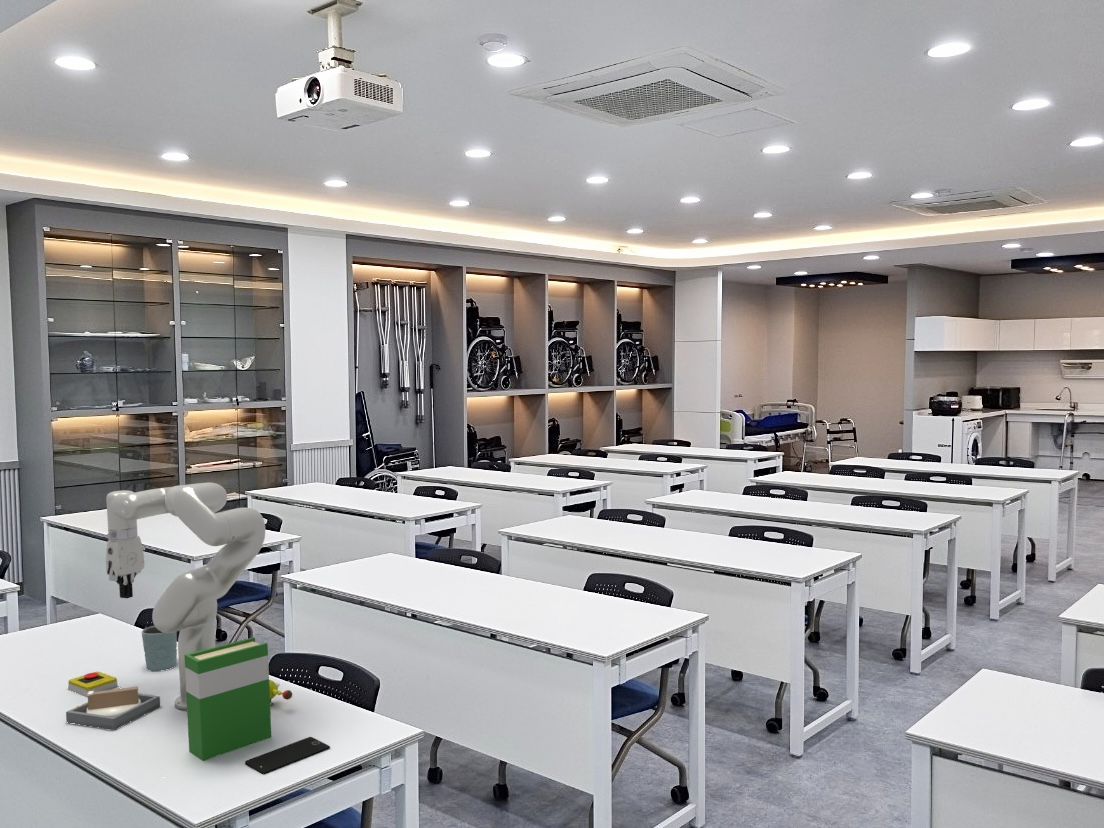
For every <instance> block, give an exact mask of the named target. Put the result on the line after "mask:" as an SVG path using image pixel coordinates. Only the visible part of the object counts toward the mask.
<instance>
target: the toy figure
mask: <svg viewBox="0 0 1104 828" xmlns="http://www.w3.org/2000/svg"><path fill="white" fill-rule="evenodd" d="M280 685H281V684H280V683H279V682H275V681H274V680H271V679H269V689H270V707H271V706H273V705H274V704H275V703H274V702H272V699H274V698H275V697H276V696H282V698H283V699H284V700H290V699H292V698H293V692H292V691H291V690H289V689H287V690H283V692H282V690H279V689H278V688H279V687H280Z"/></svg>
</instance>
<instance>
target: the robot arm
mask: <svg viewBox="0 0 1104 828" xmlns="http://www.w3.org/2000/svg"><path fill="white" fill-rule="evenodd" d="M227 499H228V494H227V491H226V489H225V488H224V487H223V486H222V485H220V484H218V483H216V482H200V483H190V484H182V485H180V484H179V485H174V486H167V487H160V488H153V489H146V490H141V491H135V492H134V491H132V490H127V489H125V490H124V489H123V490H114V491H111V492H108V493H107V495H106V501H105V502H106V517H107V518H106V519H107V534H106V537H107V539H108V540H107V543H106V551H105V554H106V555H105V570H106V574H107V576H108V581H110V582H116V583H117V585H118V586H119V587H118V590H119V598H120V599H130V598H133V596H134V594H133V592H134V591H133V584H134V582H135V578H136V576H137V575H140V574H141V572H142V571H143V570H144V568H145V556H144V548H143V543H142V539H141V536H140V535H139V536H138V520H142V519H146V518H148V517H149V518H150V517H155V516H159V515H164V514H170V515H171V516H174V517H177V518H178V519H179V520H180V521H181V522H182V523H183V524H184V525H185V526H186V527H187V528H188V529H189V530H190V531H191V532H192V533H193V534H194V535H195V536H196V537H197V538H198V539H200V541H202V542H203V543H204V544H206V545H207V546H209V547H210V546H211V547H219V546H222V547H221V548H220V549H219V550H218V551H217V552H216V554H215V555H214V556H213V558H212V559H211V560H210V561H209V562H208V563H207V564H206V565H203V566H201V567H198V568H194V569H192V570H188V571H185V572H183V573H181V574H179V575H178V576H177V577H176V578H175V579H174V580H173V581H172V582H171V583H170V584H169V586H168V587H167V589H165V591H164V592H163V593H162V595H161V596H160V598H159V599H158V600H157V602H156V603H155V605H154V607H153V609H152V615H151V616H152V618H151V619H152V623H153V626H155V627H156V628H157V629H158V630H159V631H161V632H163V633H174V632H177V633H178V632H179V634H178V637H177V651H178V652H177V655H178V670H179V671H178V673H179V691H180V692H179V695H180V696H178V697H176V698H175V700H174V707H175V708H176V709H178V710H181V711H182V710H184V711H187V697H186V677H185V657H184V655H186V654H190V653H193V652H197V651H201V650H205V649H209V648H213V647H216V637H215V636H216V634H215V633H216V619H217V612H218V602H217V601H218V599H221V598H223V597H224V596H225V595H227V593H228V592H229V590H230V589H231V588H232V586H233V585H235V583H236V582H237V581H238V579H239V578H240V577H241V575H242V574H243V572H244V571H245V570H246V569H247V568H248V566H249V565H250V564H251V563H252V561H253V560H254V559H255V558H256V556H257V555H259V553H260V551H261V549H262V546H263V544H264V541H265V539H266V524H265V519H264V517H263V516H262V514H261V512H260V511H258V510H257V509H255V508H252V507H237V508H232V509H228V510H223V511H220V510H221V509H223V507H224V506H226V503H227ZM218 511H220V512H218Z"/></svg>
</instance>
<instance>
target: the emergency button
mask: <svg viewBox="0 0 1104 828" xmlns="http://www.w3.org/2000/svg"><path fill="white" fill-rule="evenodd" d="M67 683H68V686H67V687H68V689H69V690H68V691H70V690H71V691H70V692H72V691H74V692H73V693H75V692H76V693H75V694H77V693H78V695H80V696H83V697H86V698H88V695H87V694H88V692H89V691H94V692H98V691H106V690H114V689H120V688H122V687H121V686H119V685H118V684H119V683H118V679H117V677H116V676H113V675H110V674H107V673H103V672H101V671H94V672H90V673H86V674H83V675H80V676H77V677H74V678H73V677H72V678H71V679H68V682H67ZM119 687H120V688H119Z"/></svg>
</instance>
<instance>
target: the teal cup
mask: <svg viewBox="0 0 1104 828" xmlns="http://www.w3.org/2000/svg"><path fill="white" fill-rule="evenodd" d="M177 633H178V631H177V632H174V633H163V632H161V631H159V630H158V629H157V628H156V627H155V625H151V626H149V627H145V628H143V629H142V630H141V637H142V644H143V645H142V646H143V652H144V658H145V667H146V670H147V669H148V670H151V671H150V672H162V671H161V670H165V671H167V670H166V669H169V670H171V669H170V668H172V667H174V666H175V667H176V666H177V663H178V662H177V661H178V660H177V659H178V658H177V655H178V652H177V651H178V637H177V635H178V634H177ZM175 667H174V668H175ZM172 669H173V668H172ZM148 670H147V671H148Z"/></svg>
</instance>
